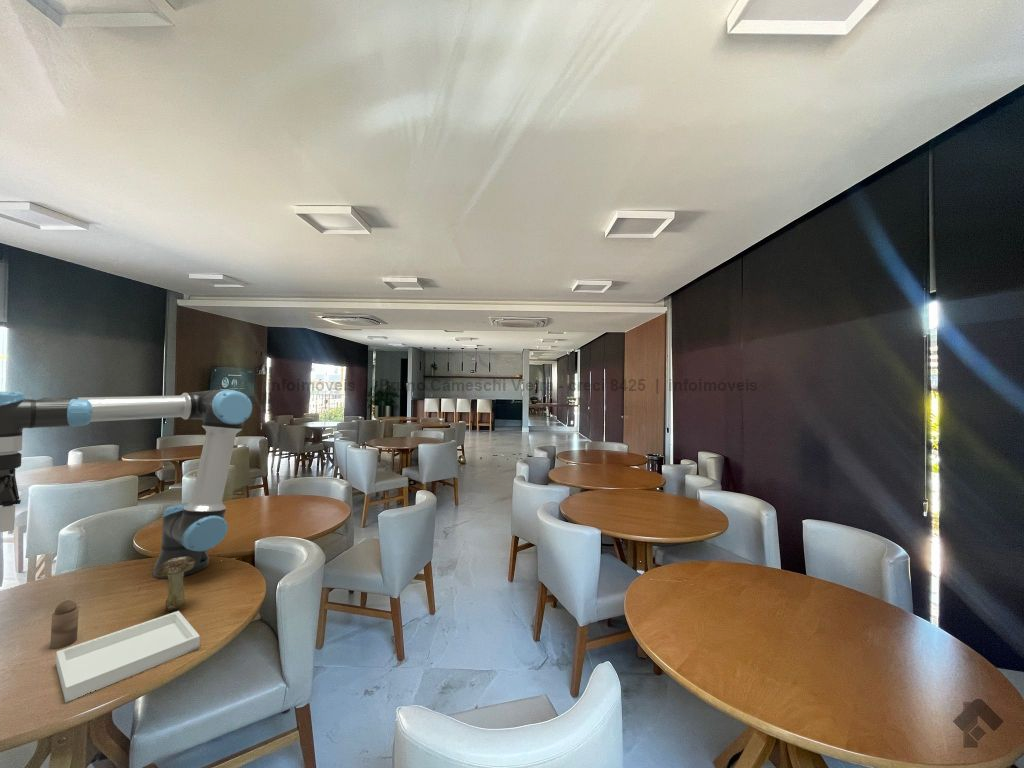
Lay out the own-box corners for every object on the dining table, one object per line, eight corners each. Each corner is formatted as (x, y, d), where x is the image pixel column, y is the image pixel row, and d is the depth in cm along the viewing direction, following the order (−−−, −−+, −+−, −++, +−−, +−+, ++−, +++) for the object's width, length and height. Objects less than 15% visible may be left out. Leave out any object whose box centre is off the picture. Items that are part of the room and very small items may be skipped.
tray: (178, 621, 107) (178, 610, 108) (199, 648, 97) (199, 635, 97) (55, 664, 90) (56, 651, 90) (65, 703, 79) (66, 687, 79)
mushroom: (164, 622, 107) (167, 567, 108) (145, 615, 110) (148, 561, 111) (201, 605, 116) (204, 554, 116) (183, 599, 119) (185, 549, 119)
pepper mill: (75, 635, 100) (78, 594, 101) (78, 642, 98) (80, 600, 98) (49, 644, 97) (51, 601, 97) (51, 651, 94) (53, 607, 95)
